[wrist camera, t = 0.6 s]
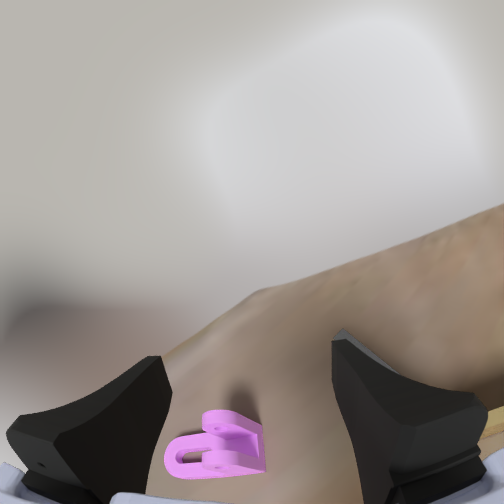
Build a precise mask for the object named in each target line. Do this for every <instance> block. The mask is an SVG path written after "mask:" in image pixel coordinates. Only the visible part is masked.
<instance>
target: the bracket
mask: <svg viewBox="0 0 504 504" xmlns="http://www.w3.org/2000/svg"><path fill="white" fill-rule="evenodd" d="M202 429H203V430H204V431H206V432H207V433H201V434H194V435H188V436H181V437H178V438H176V439H174V440H173V441H172V442H171V443H170V444H169V445H168V447H167V449H166V451H165V455H164V463H165V467H166V469H167V471H168V472H169V473H170V474H171V475H173V476H174V477H178V478H182V479H206V478H219V477H230V476H239V475H248V474H255V473H262V472H266V467H265V456H264V444H263V433H262V425H260V424H258V423H256V422H254V421H252V420H250V419H248V418H246V417H244V416H242V415H240V414H239V413H237V412H234V411H230V410H211V411H207V412H205V413H203V415H202ZM211 449H212V451H207V452H203V453H202V462H197V463H184V464H183V461H182V458H183V455H184V454H185V453H187V452H195V451H203V450H211Z"/></svg>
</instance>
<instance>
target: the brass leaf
mask: <svg viewBox="0 0 504 504" xmlns="http://www.w3.org/2000/svg"><path fill="white" fill-rule="evenodd" d="M501 431H504V406H502V407H499V408H497V409H494V410H491V411H488V420H487V423H486V426H485V428H484V431H483V433H482V435H481V437H480V439H481V438H484V437H487V436H490V435H493V434H496V433H498V432H501Z"/></svg>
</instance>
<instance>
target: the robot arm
mask: <svg viewBox="0 0 504 504" xmlns="http://www.w3.org/2000/svg"><path fill="white" fill-rule="evenodd" d="M332 383H333V387H334V392H335V396H336V400H337V403H338V405H339V408H340V411H341V414H342V416H343V419H344V422H345V424H346V427H347V430H348V432H349V435H350V438H351V441H352V444H353V448H354V452H355V457H356V462H357V466H358V471H359V477H360V482H361V488H362V494H363V500H364V504H504V447H503V448H501V449H500V450H498V451H496V452H494V453H492V454H491V455H489V456H488V457H486V458H485V459H484V460H483V461H481V459H480V458H479V456H478V455H480V453H481V450H480V448H479V447H478V445H477V443H478V441H479V439H480V437H481V435H482V433H483V431H484V428H485V426H486V423H487V420H488V411H487V409H486V407H485V406H484V405H483V404H482V402H481V401H480V400H479V399H478V398H477V396H476V395H475V394H474V393H469V392H459V391H451V390H445V389H440V388H436V387H432V386H428V385H425V384H422V383H419V382H416V381H413V380H411V379H408V378H406V377H404V376H402V375H399V374H397V373H395V372H393V371H391V370H390V369H388V368H386V367H385V366H383V365H381V364H380V363H378V362H377V361H375V360H374V359H372V358H371V357H369V356H368V355H366V354H365V353H364V352H362V351H361V350H360V349H359V348H357V347H356V346H355V345H353V344H352V343H351V342H350V341H348V340H347V339H341V340H334V341H332ZM172 393H173V392H172V389H171V386H170V383H169V380H168V377H167V374H166V371H165V368H164V365H163V361H162V358H161V356H147V357H146V358H144V359H143V360H141V361H140V362H138V363H137V364H135V365H134V366H133V367H131V368H130V369H128V370H127V371H126V372H124V373H123V374H121V375H120V376H119V377H117V378H116V379H114V380H113V381H111V382H110V383H108V384H107V385H105V386H104V387H102V388H101V389H99V390H97V391H95V392H93V393H92V394H90V395H88V396H86V397H84V398H82V399H79V400H77V401H74V402H72V403H69V404H67V405H64V406H61V407H58V408H55V409H51V410H48V411H44V412H39V413H33V414H27V415H20V416H19V417H18V418H17V419H16V420H15V422H14V423H13V424H12V425H11V426H10V427H9V429H8V430H7V432H6V436H7V440H8V442H9V444H10V446H11V447H12V449H13V450H14V451H15V453H16V454H17V455H18V457H19V458H20V459H21V461H22V462H23V463H24V464H25V466H26V467H27V468H28V471H27V472H26V474H25V473H24V472H23V471H21V470H20V469H18V468H16V467H14V466H11V465H10V464H7V463H5V462H3V463H2V465H1V466H0V504H232V503H224V502H216V501H199V500H186V499H175V498H166V497H159V496H151V495H145V492H146V485H147V479H148V474H149V469H150V464H151V460H152V456H153V452H154V449H155V446H156V444H157V441H158V438H159V436H160V433H161V430H162V428H163V425H164V423H165V420H166V417H167V414H168V412H169V408H170V403H171V398H172Z"/></svg>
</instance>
